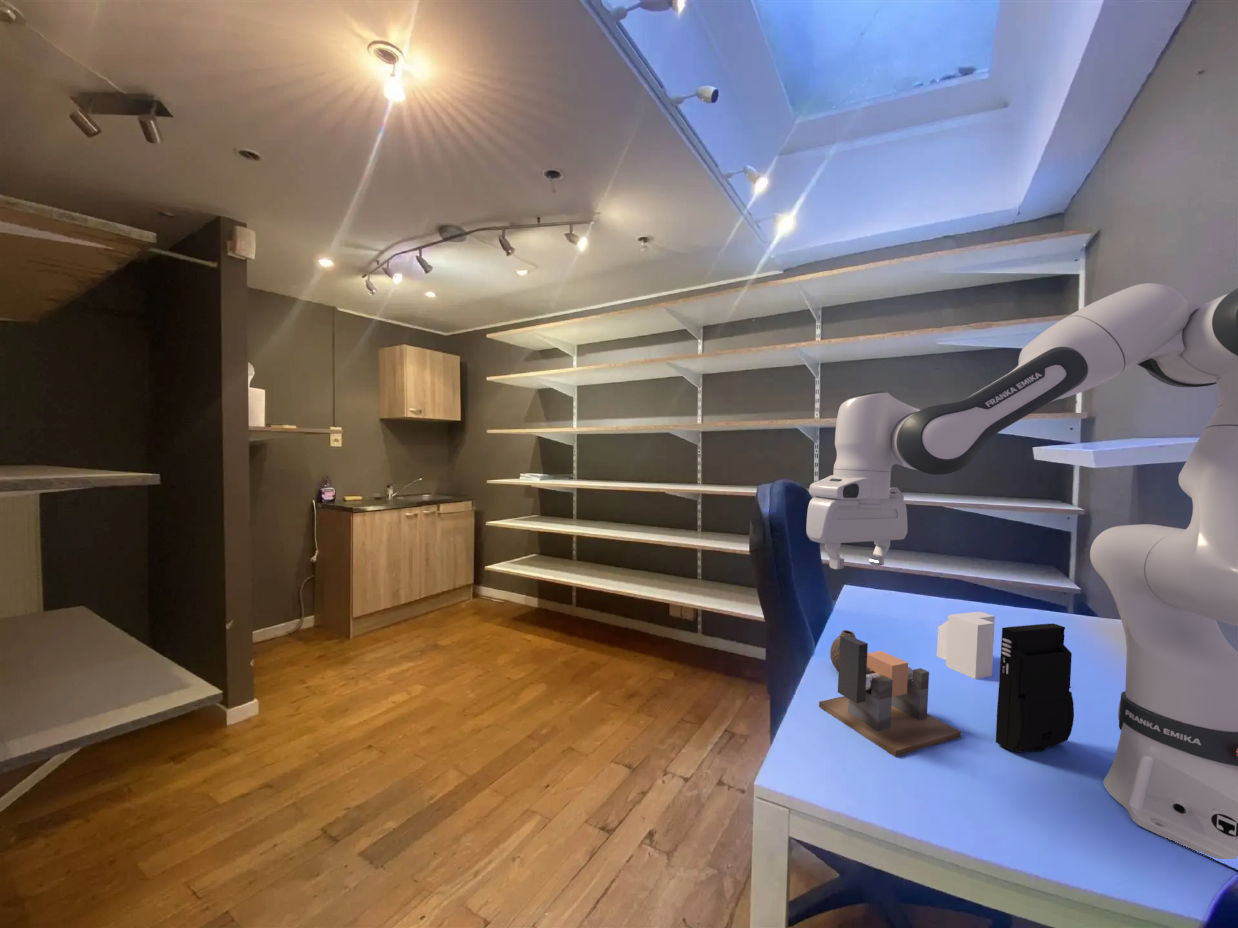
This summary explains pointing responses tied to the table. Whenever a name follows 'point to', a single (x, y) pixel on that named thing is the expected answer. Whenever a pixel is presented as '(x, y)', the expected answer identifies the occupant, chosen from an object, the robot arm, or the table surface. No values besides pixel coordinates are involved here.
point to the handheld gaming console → (1034, 688)
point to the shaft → (855, 669)
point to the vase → (838, 648)
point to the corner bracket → (967, 643)
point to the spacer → (889, 670)
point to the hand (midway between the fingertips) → (856, 566)
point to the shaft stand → (894, 716)
